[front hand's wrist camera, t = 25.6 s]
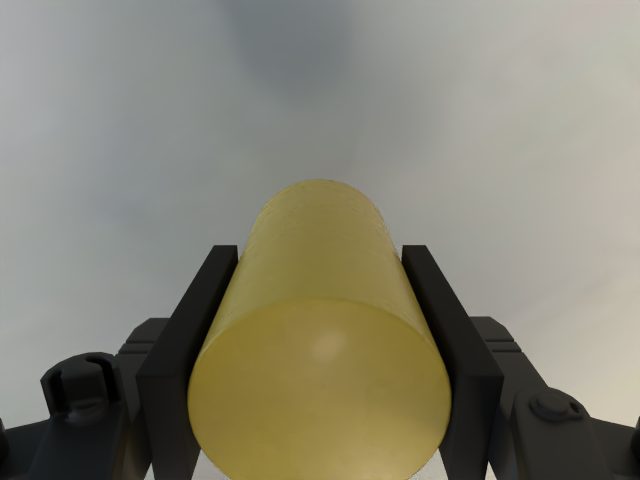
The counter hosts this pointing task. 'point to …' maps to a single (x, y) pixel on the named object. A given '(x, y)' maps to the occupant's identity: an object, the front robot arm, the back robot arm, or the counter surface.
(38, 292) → the counter surface
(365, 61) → the counter surface
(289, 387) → the yellow cylinder
